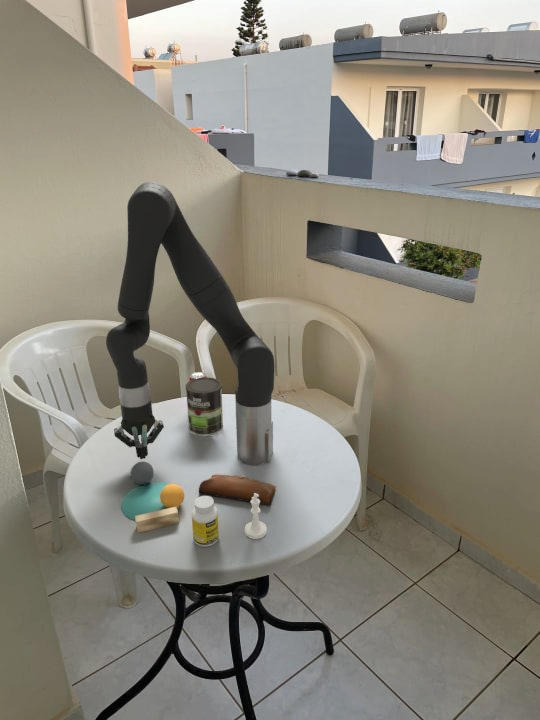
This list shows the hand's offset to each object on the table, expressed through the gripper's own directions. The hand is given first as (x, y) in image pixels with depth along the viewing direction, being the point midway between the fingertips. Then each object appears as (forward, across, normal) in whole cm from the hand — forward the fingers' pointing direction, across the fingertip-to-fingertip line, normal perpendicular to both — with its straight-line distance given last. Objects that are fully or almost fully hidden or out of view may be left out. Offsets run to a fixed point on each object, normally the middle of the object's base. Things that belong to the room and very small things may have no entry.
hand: (142, 457), depth 133 cm
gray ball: (-1, +1, +9) cm, 9 cm away
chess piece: (+2, -20, +35) cm, 40 cm away
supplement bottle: (+2, -9, +33) cm, 34 cm away
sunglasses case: (+2, -20, +20) cm, 29 cm away
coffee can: (+2, -20, -11) cm, 23 cm away
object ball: (-1, -4, +20) cm, 21 cm away
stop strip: (+2, 0, +26) cm, 26 cm away
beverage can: (+2, -20, -23) cm, 31 cm away
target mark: (+2, 0, +17) cm, 17 cm away
